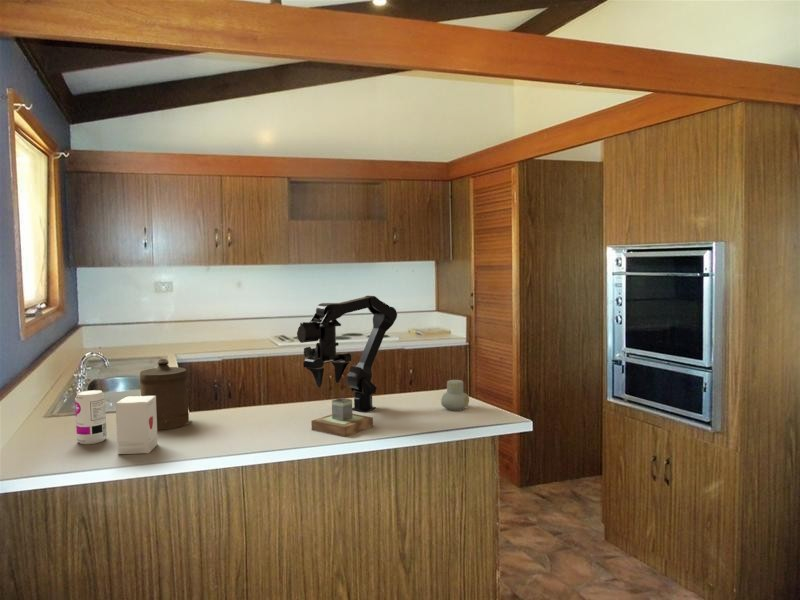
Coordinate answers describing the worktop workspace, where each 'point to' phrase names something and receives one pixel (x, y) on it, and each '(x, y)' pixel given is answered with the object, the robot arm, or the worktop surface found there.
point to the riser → (342, 425)
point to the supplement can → (90, 417)
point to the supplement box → (136, 424)
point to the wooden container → (167, 394)
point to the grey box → (342, 409)
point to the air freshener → (455, 396)
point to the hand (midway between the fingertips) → (328, 384)
